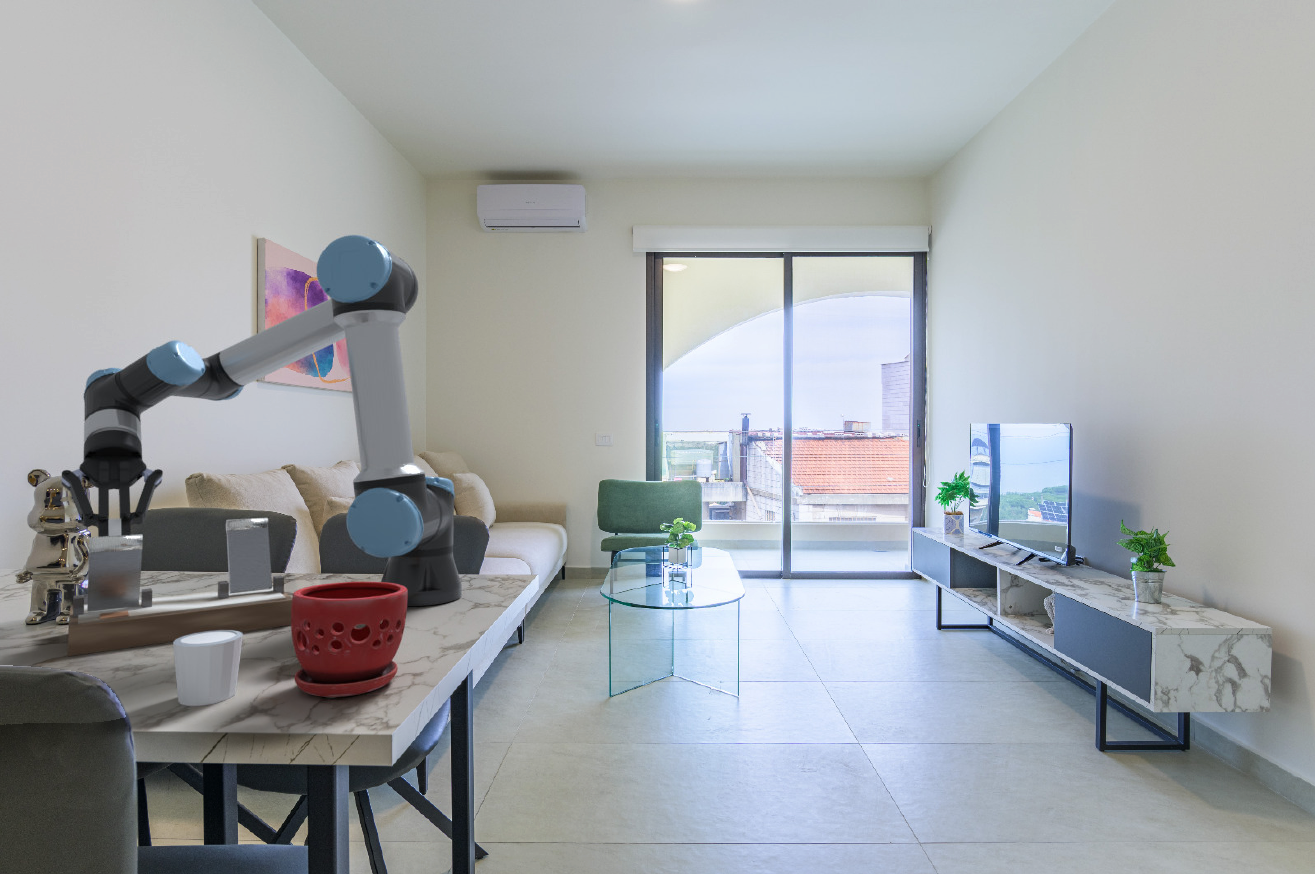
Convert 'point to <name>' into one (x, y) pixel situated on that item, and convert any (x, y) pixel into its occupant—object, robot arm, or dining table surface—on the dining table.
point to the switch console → (176, 617)
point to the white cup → (207, 666)
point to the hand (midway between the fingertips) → (114, 558)
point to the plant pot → (347, 636)
